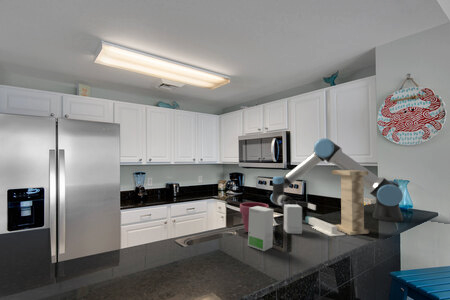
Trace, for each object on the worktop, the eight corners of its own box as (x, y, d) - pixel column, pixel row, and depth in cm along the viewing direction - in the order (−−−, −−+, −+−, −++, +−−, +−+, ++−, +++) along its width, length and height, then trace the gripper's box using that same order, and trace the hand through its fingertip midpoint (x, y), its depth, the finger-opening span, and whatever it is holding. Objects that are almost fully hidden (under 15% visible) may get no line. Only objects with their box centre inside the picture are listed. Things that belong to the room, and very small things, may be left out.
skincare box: (247, 246, 98) (247, 207, 98) (256, 242, 103) (257, 205, 103) (264, 251, 92) (264, 210, 93) (273, 247, 97) (274, 208, 98)
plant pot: (265, 226, 126) (265, 202, 127) (271, 235, 112) (271, 207, 113) (238, 226, 126) (238, 201, 127) (240, 234, 112) (240, 207, 113)
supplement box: (302, 233, 115) (302, 207, 115) (286, 233, 115) (286, 207, 115) (298, 229, 122) (298, 204, 123) (283, 229, 122) (283, 204, 123)
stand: (349, 226, 128) (349, 170, 129) (368, 233, 116) (368, 171, 117) (332, 227, 125) (332, 170, 126) (350, 235, 113) (349, 171, 114)
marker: (310, 221, 135) (310, 216, 135) (337, 233, 115) (337, 226, 115) (305, 222, 134) (305, 216, 134) (331, 233, 114) (331, 226, 114)
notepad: (323, 226, 128) (323, 225, 128) (345, 235, 113) (345, 234, 113) (310, 227, 125) (310, 226, 125) (331, 236, 111) (331, 235, 111)
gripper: (302, 206, 161) (323, 213, 140) (268, 208, 154) (285, 216, 133) (302, 195, 161) (323, 200, 140) (268, 196, 154) (285, 202, 133)
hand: (305, 208), depth 137 cm, fingers open, 13 cm apart
